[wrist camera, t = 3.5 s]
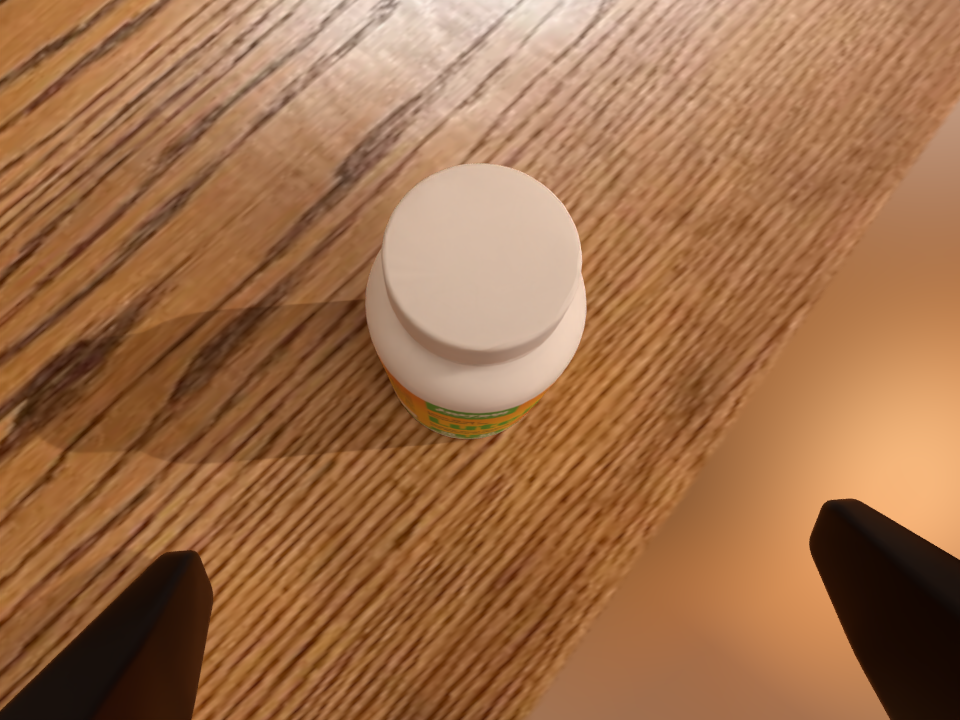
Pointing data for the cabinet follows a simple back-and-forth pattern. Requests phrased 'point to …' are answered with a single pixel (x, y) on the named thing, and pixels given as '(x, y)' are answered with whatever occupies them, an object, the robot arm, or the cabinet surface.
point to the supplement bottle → (476, 298)
